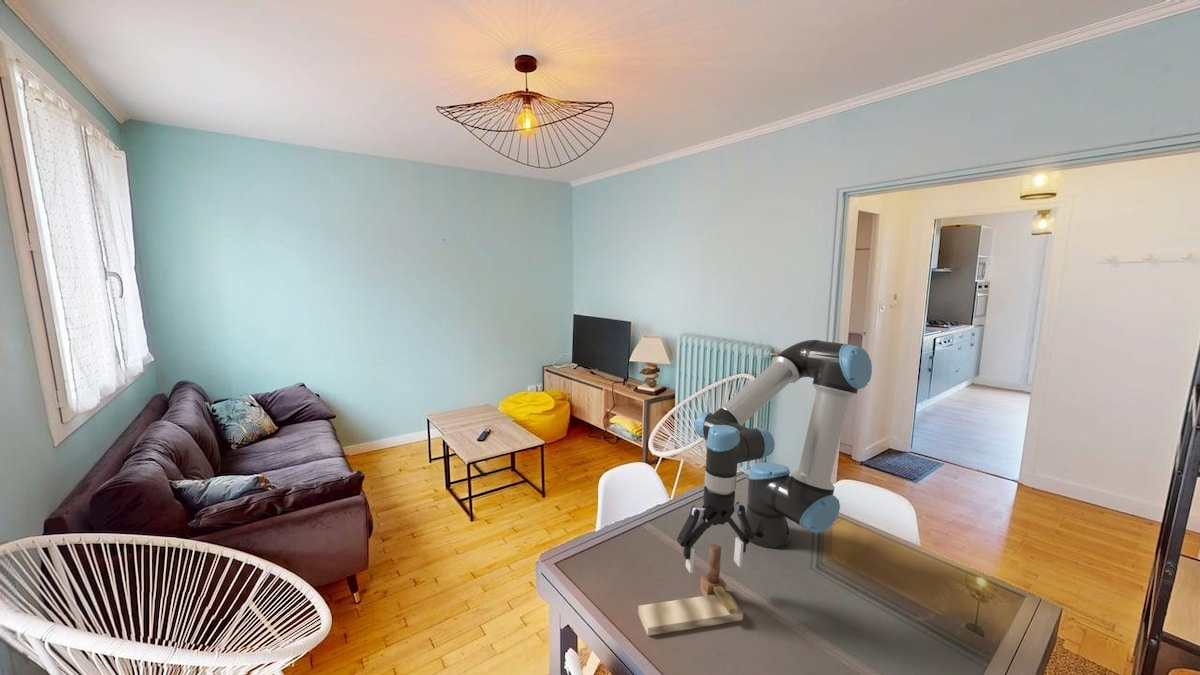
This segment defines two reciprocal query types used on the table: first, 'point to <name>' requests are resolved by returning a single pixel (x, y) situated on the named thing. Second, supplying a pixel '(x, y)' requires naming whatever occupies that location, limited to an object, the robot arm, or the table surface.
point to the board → (686, 614)
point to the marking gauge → (716, 580)
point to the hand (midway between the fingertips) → (713, 566)
